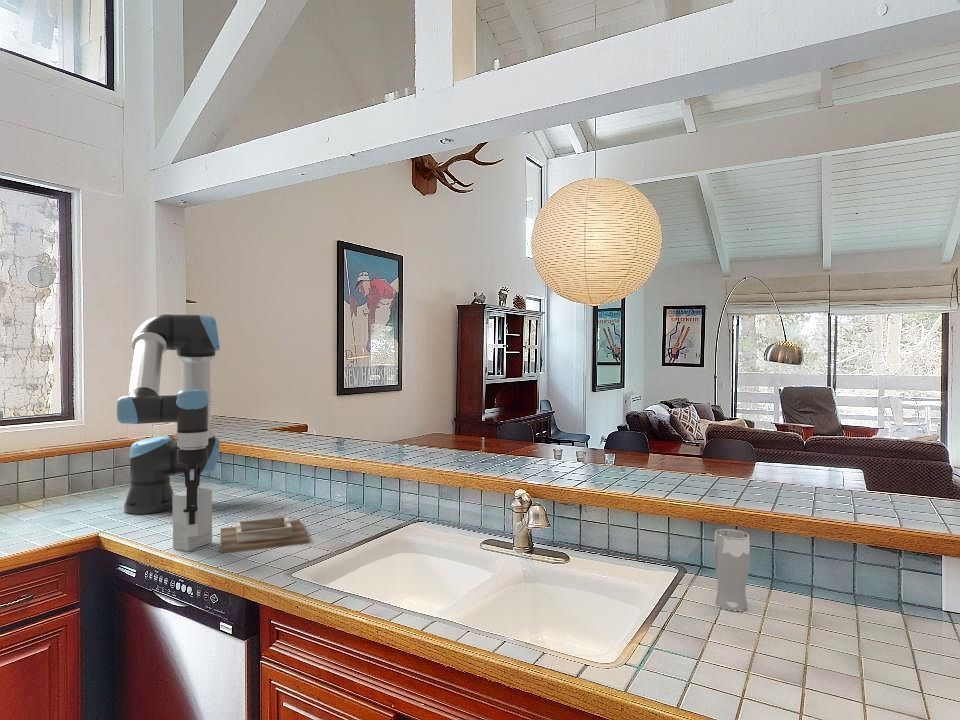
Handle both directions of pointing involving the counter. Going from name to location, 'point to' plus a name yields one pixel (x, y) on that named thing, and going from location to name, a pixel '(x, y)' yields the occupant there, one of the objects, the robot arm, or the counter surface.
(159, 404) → the robot arm
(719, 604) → the beer glass
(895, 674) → the counter surface
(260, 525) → the holder board
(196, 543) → the skincare box
